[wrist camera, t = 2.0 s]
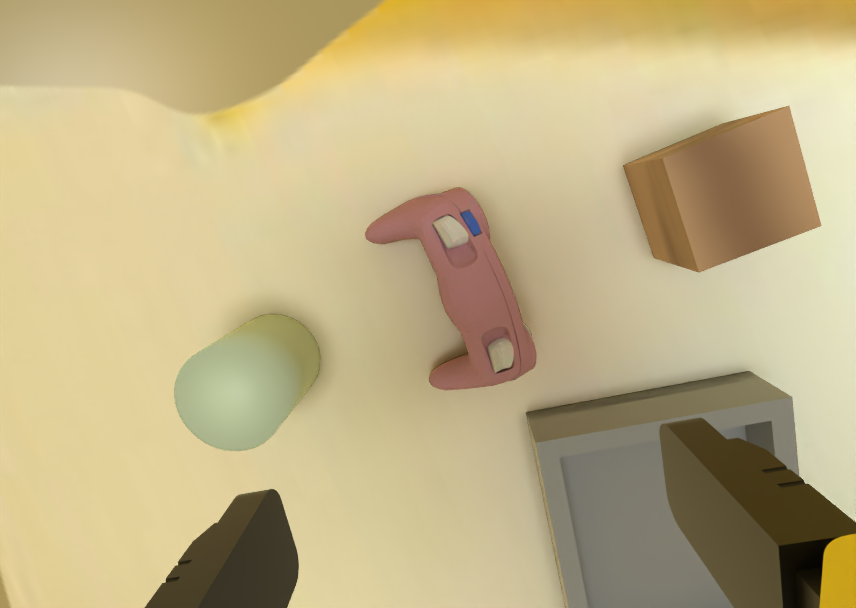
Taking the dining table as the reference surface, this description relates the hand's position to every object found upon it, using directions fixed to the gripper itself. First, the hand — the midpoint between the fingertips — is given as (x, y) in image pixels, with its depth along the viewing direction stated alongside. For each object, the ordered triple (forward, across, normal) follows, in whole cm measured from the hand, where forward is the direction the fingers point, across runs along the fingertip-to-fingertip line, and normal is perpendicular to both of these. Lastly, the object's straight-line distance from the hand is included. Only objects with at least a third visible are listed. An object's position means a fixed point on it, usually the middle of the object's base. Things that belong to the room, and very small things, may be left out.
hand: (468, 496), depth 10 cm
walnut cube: (+17, -12, -4) cm, 21 cm away
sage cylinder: (+17, +10, +1) cm, 20 cm away
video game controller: (+17, 0, -1) cm, 17 cm away
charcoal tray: (+17, -9, +14) cm, 24 cm away
